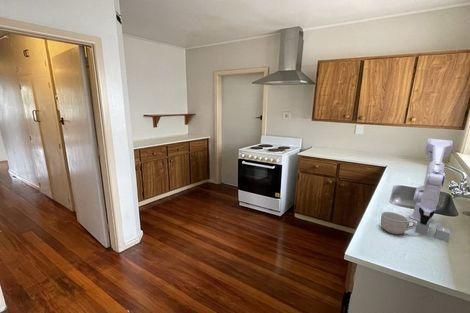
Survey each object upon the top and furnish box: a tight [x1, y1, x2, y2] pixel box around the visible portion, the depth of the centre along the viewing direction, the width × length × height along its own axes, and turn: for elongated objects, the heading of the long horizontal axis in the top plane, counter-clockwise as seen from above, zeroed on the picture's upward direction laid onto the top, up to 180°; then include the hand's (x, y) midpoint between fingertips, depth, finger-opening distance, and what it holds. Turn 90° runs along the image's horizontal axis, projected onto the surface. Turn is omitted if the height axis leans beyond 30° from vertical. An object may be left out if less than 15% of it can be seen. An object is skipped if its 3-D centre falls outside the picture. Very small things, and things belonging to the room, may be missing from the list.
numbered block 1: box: [434, 225, 451, 243], centre depth 106 cm, size 4×4×5 cm
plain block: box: [414, 220, 430, 237], centre depth 111 cm, size 4×4×4 cm
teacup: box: [380, 211, 417, 235], centre depth 110 cm, size 14×11×8 cm
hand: (423, 223), depth 110 cm, fingers closed, pressing on plain block
